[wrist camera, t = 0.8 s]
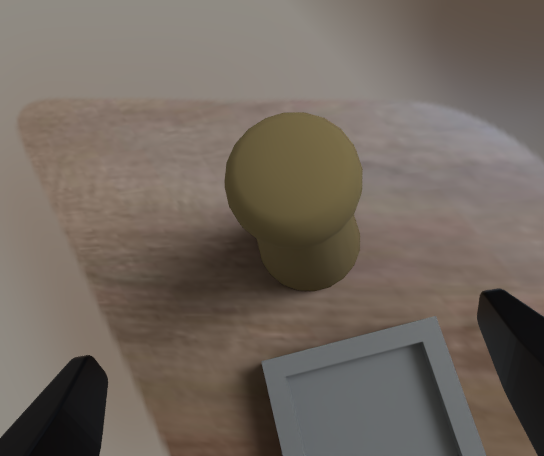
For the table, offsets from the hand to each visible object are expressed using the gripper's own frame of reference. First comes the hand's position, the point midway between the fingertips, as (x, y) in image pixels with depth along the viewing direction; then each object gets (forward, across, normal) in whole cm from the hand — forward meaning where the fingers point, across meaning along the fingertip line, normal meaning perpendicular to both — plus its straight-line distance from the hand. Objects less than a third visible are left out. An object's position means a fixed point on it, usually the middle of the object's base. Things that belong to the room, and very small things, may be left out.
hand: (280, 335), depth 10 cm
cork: (+13, -1, +8) cm, 16 cm away
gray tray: (+4, -2, +14) cm, 15 cm away
